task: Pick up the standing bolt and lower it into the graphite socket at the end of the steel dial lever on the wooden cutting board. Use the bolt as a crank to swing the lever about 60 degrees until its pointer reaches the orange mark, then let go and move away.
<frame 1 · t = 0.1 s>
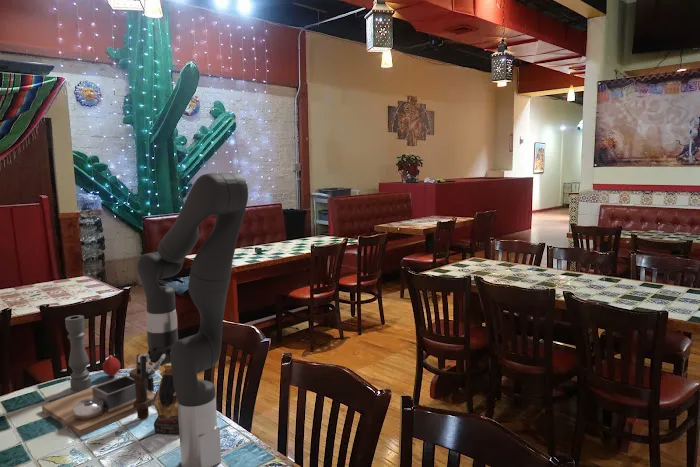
hand: (165, 384, 129), 17 cm above the table, tool pointing down, fingers open, 8 cm apart
candle holder: (81, 387, 167), on the table
wooden cutting board: (90, 419, 145), on the table
statue: (176, 429, 139), on the table
bolt: (143, 418, 146), on the table
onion: (112, 376, 176), on the table
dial: (110, 396, 150), point 5 cm above the table, hinge at 0.0°
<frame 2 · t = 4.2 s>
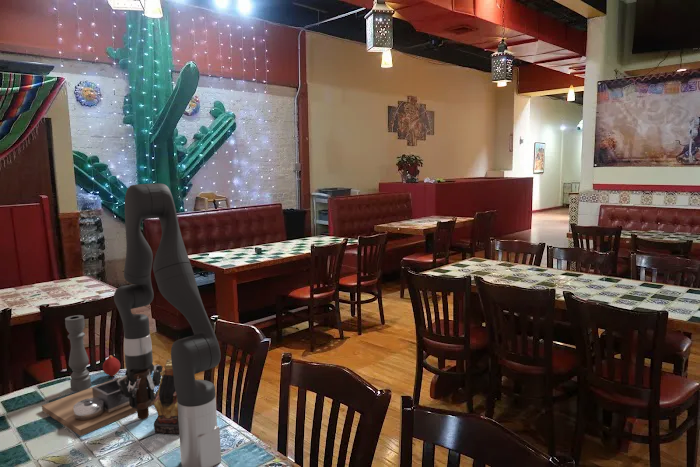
hand: (142, 403, 145), 4 cm above the table, tool pointing down, fingers closed on bolt, 4 cm apart
bolt: (143, 418, 146), on the table, touching gripper
everything else where it was.
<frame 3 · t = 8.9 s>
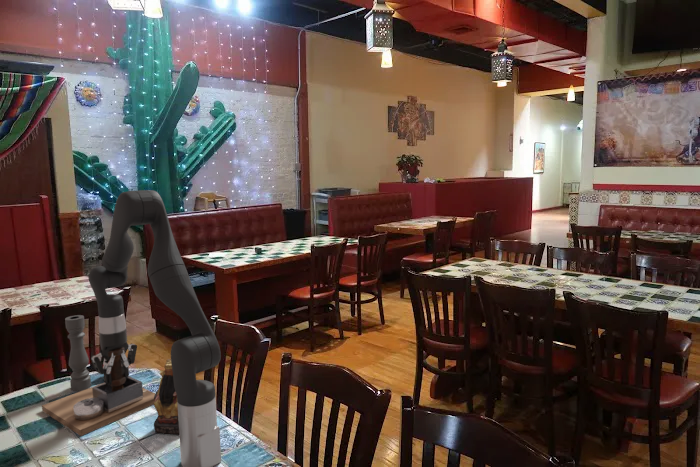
hand: (117, 381, 151), 9 cm above the table, tool pointing down, fingers closed on bolt, 4 cm apart
bolt: (118, 394, 152), point 4 cm above the table, touching gripper
everything else where it was.
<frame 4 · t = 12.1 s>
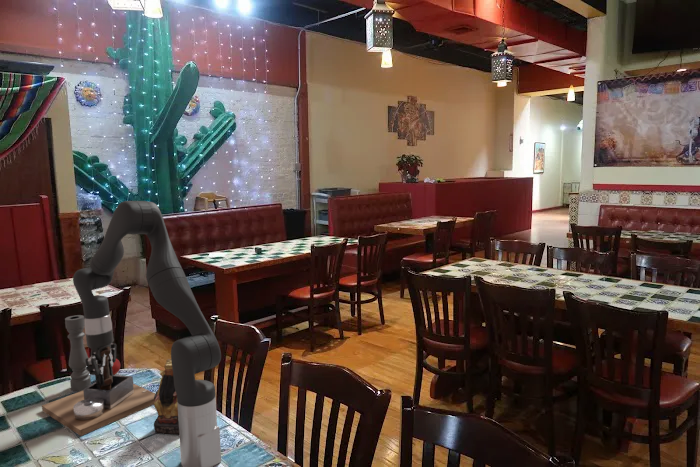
hand: (105, 381, 153), 8 cm above the table, tool pointing down, fingers closed on bolt, 4 cm apart
bolt: (106, 394, 153), point 4 cm above the table, touching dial, gripper
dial: (103, 394, 151), point 5 cm above the table, hinge at 24.6°, touching bolt
everything else where it was.
when the fingers open (8 cm above the table, at t = 14.0 s): bolt stays where it is, resting on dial.
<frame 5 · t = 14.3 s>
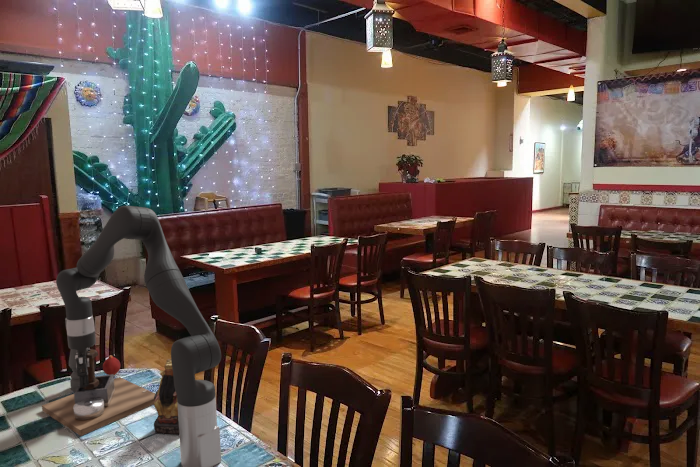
hand: (85, 381, 151), 9 cm above the table, tool pointing down, fingers open, 7 cm apart
bolt: (91, 398, 153), point 3 cm above the table, touching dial
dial: (93, 395, 151), point 5 cm above the table, hinge at 52.8°, touching bolt
everything else where it was.
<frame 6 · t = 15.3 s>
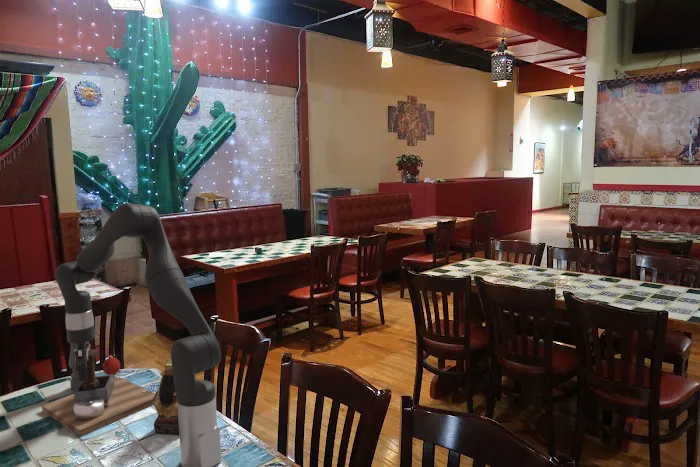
hand: (85, 375, 151), 11 cm above the table, tool pointing down, fingers open, 8 cm apart
nothing on the table moved.
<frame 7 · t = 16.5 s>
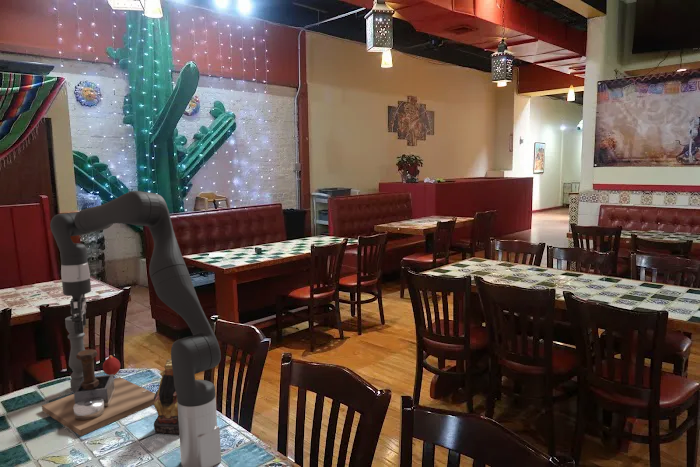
hand: (80, 329, 149), 26 cm above the table, tool pointing down, fingers open, 8 cm apart
nothing on the table moved.
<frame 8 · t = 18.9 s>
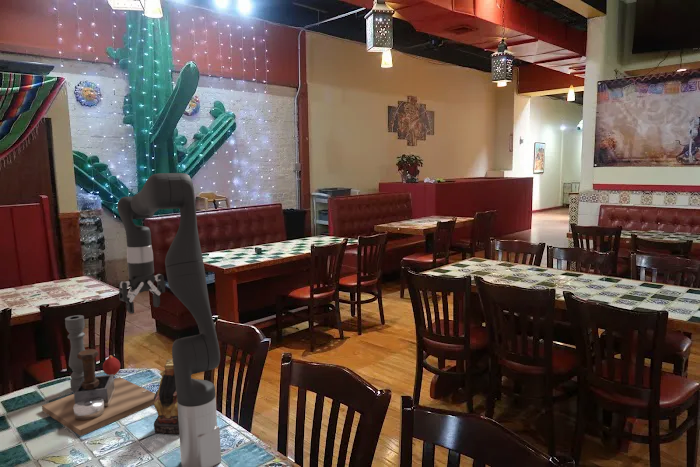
hand: (144, 309, 154), 30 cm above the table, tool pointing down, fingers open, 8 cm apart
nothing on the table moved.
at the end: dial at +53° (first picture: +0°); bolt inside the target area (0.2 cm from its centre), point 2.9 cm above the table; the gripper is holding nothing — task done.
